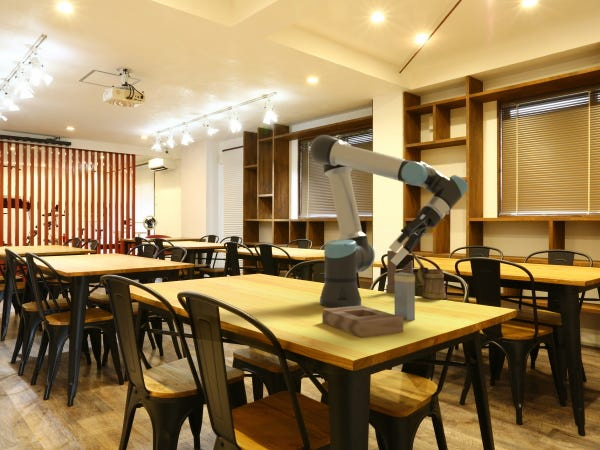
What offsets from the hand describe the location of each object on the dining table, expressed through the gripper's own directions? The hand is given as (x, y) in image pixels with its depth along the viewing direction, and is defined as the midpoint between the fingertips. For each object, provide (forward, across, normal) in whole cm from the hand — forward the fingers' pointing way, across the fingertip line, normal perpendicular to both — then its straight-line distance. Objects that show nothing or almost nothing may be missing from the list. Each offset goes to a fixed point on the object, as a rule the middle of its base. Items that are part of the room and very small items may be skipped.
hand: (392, 256), depth 156 cm
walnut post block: (+26, -18, -11) cm, 34 cm away
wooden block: (0, +44, -2) cm, 44 cm away
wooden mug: (-5, +37, -13) cm, 39 cm away
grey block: (+14, -4, -17) cm, 22 cm away
